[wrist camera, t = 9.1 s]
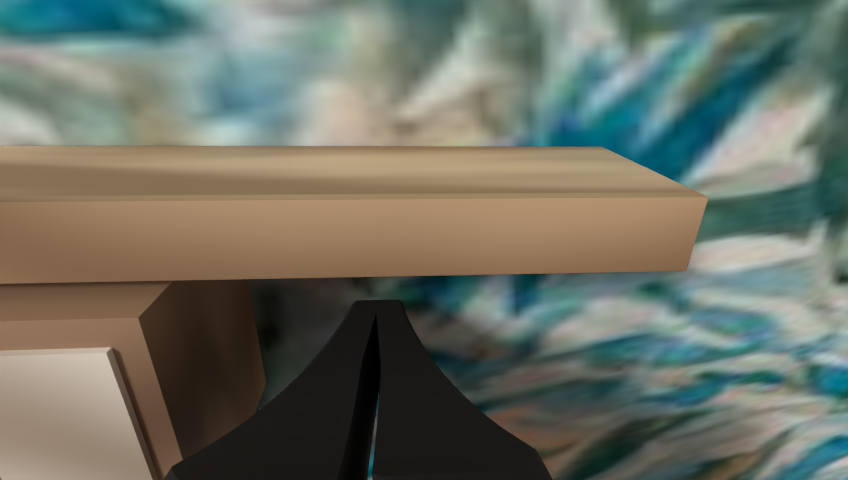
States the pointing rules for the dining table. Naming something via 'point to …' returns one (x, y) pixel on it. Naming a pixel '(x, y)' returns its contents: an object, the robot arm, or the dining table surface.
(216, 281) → the cabinet block
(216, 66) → the dining table surface
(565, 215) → the wooden bracket
